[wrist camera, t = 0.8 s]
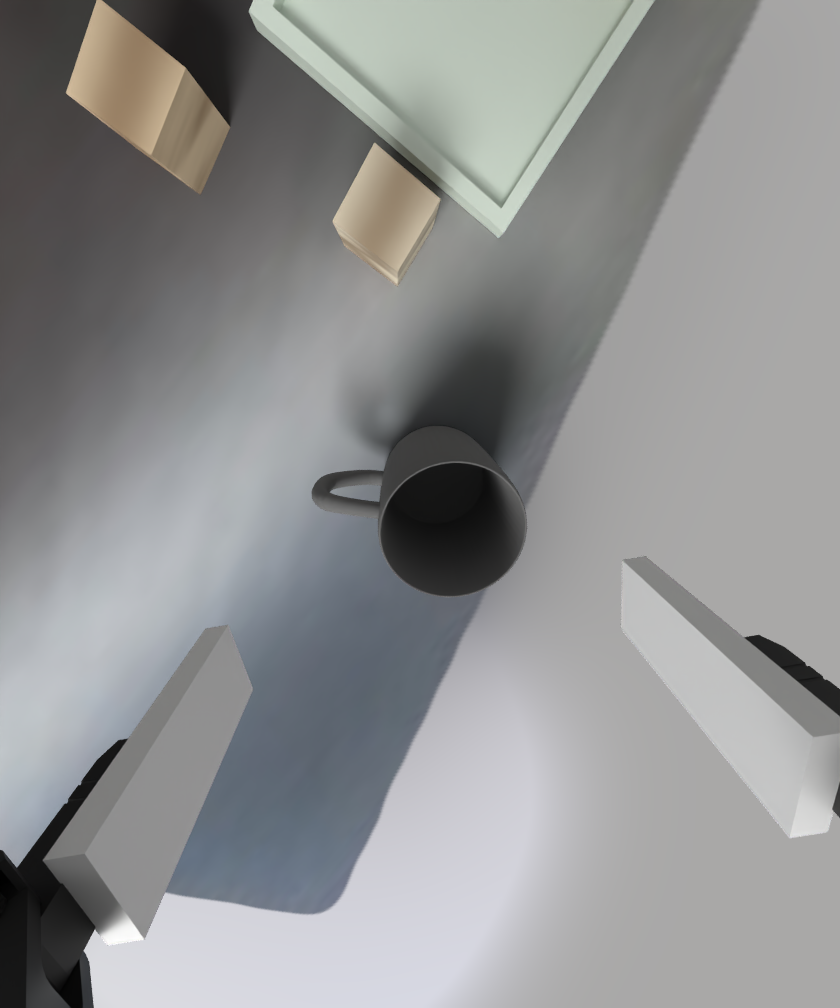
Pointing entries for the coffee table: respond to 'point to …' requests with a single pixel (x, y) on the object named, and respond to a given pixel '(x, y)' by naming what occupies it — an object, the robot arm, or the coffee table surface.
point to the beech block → (386, 215)
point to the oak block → (147, 98)
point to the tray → (460, 80)
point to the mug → (438, 512)
